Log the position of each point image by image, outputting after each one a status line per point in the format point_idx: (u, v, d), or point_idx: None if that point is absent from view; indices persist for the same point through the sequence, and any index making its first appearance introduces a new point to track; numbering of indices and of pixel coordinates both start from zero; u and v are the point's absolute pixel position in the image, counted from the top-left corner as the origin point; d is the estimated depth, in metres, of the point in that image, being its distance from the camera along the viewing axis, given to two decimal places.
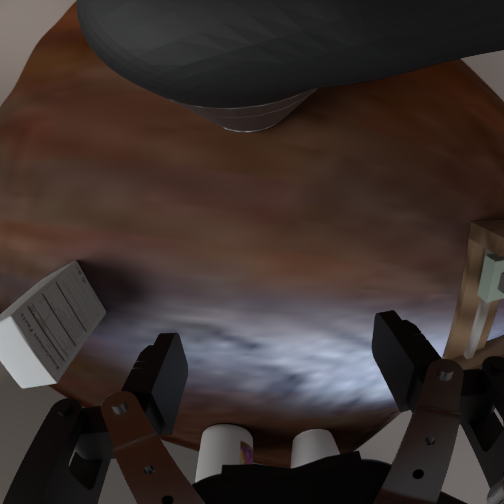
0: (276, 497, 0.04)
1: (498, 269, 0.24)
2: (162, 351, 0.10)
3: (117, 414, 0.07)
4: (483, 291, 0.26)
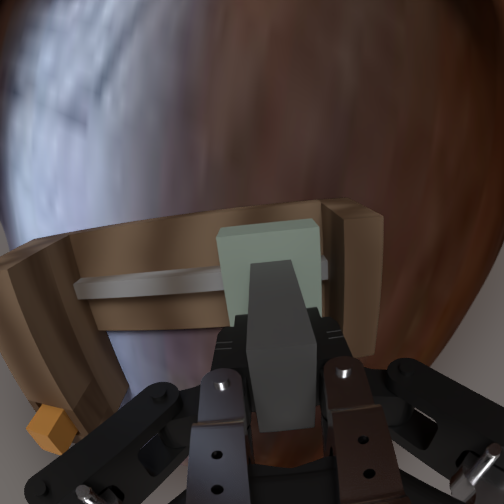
0: (276, 497, 0.04)
1: (299, 247, 0.14)
2: (246, 330, 0.11)
3: (224, 390, 0.08)
4: (236, 230, 0.15)
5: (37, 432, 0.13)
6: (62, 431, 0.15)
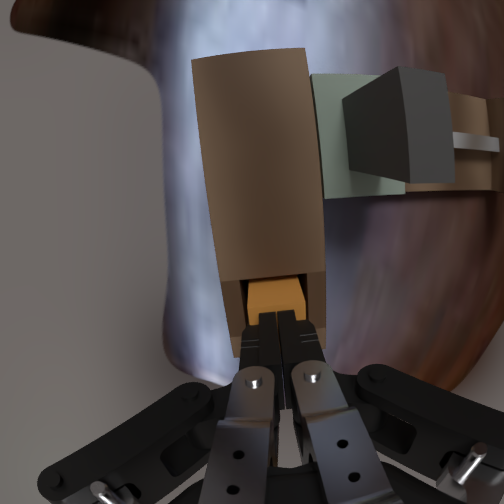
0: (276, 497, 0.04)
1: None
2: (271, 327, 0.11)
3: (258, 389, 0.08)
4: None
5: (278, 304, 0.12)
6: None
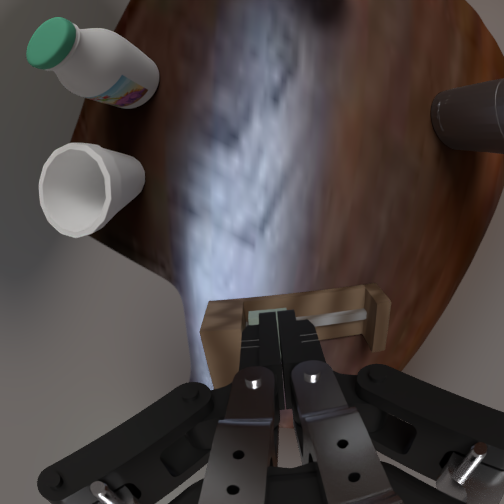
0: (276, 497, 0.04)
1: None
2: (271, 327, 0.11)
3: (258, 389, 0.08)
4: (255, 314, 0.38)
5: None
6: None
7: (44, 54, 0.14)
